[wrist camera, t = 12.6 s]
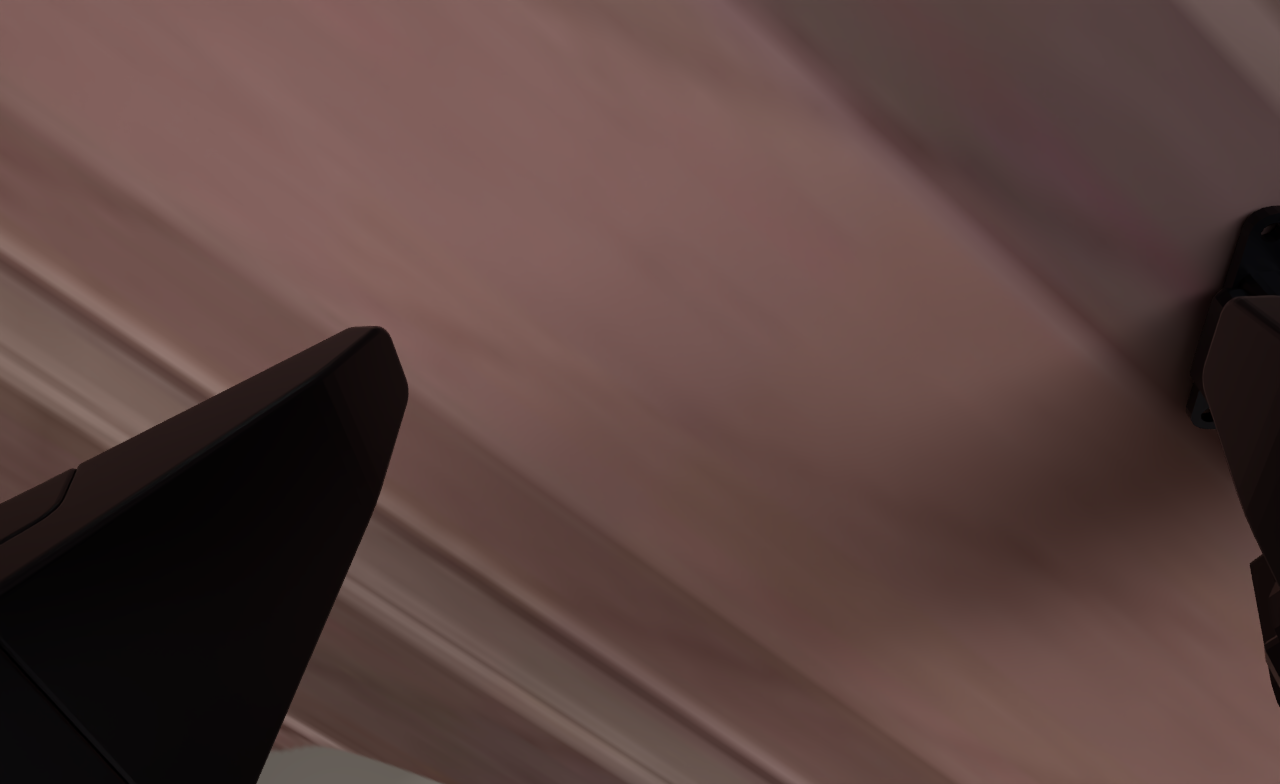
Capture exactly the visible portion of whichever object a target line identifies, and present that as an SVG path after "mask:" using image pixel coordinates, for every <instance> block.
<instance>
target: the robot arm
mask: <svg viewBox="0 0 1280 784" xmlns="http://www.w3.org/2000/svg"><path fill="white" fill-rule="evenodd" d="M1273 223H1278V226H1277V227H1276V229H1275V230H1274V231H1272V232H1271V233H1269V234H1265V235H1261V232H1262V231H1263V229H1264V228H1265V227H1267V226H1268V225H1270V224H1273ZM1190 376H1191V378H1192V379H1193V381H1194V383H1193V386H1192V390H1191V393H1190V396H1189V399H1188V402H1187V406H1186V412H1187V414H1188V416H1189V417H1190V419H1191V421H1192V422H1193V424H1194V425H1195V426H1197V427H1199V428H1203V429H1216V430H1217V433H1218V436H1219V439H1220V442H1221V445H1222V448H1223V451H1224V454H1225V458H1226V461H1227V464H1228V467H1229V470H1230V473H1231V476H1232V479H1233V482H1234V486H1235V489H1236V492H1237V495H1238V498H1239V500H1240V503H1241V506H1242V509H1243V511H1244V514H1245V516H1246V519H1247V521H1248V523H1249V525H1250V528H1251V530H1252V532H1253V534H1254V537H1255V539H1256V541H1257V543H1258V545H1259V547H1260V549H1261V551H1262V553H1263V554H1262V555H1261V556H1259V557H1258V558H1257V559H1255V560H1254V561H1252V562H1251V563H1250V569H1251V575H1252V580H1253V586H1254V591H1255V597H1256V602H1257V608H1258V613H1259V619H1260V624H1261V630H1262V635H1263V641H1264V649H1265V659H1266V663H1267V664H1268V668H1269V673H1270V679H1271V684H1272V687H1273V691H1274V694H1275V697H1276V700H1277V703H1278V705H1279V707H1280V206H1270V207H1265V208H1262V209H1260V210H1258V211H1256V212H1254V213H1253V214H1252V215H1251V216H1249V217H1248V218H1247V219H1246V221H1245V223H1244V225H1243V227H1242V230H1241V233H1240V236H1239V240H1238V243H1237V246H1236V249H1235V252H1234V256H1233V259H1232V262H1231V265H1230V268H1229V271H1228V275H1227V278H1226V281H1225V284H1224V287H1223V289H1221V290H1220V291H1219V292H1218V293H1217V294H1216V295H1215V296H1214V297H1213V298H1212V301H1211V305H1210V308H1209V311H1208V314H1207V318H1206V321H1205V324H1204V327H1203V331H1202V334H1201V337H1200V340H1199V344H1198V347H1197V350H1196V353H1195V357H1194V360H1193V363H1192V366H1191V370H1190ZM407 402H408V384H407V380H406V377H405V374H404V372H403V369H402V366H401V363H400V361H399V358H398V355H397V352H396V350H395V347H394V344H393V341H392V339H391V337H390V335H389V333H388V332H387V331H386V330H385V329H384V328H382V327H379V326H363V327H351V328H348V329H345V330H343V331H342V332H340V333H338V334H336V335H334V336H332V337H330V338H328V339H326V340H324V341H322V342H320V343H318V344H316V345H314V346H312V347H310V348H308V349H306V350H304V351H302V352H300V353H298V354H296V355H294V356H292V357H290V358H288V359H286V360H284V361H282V362H280V363H278V364H276V365H274V366H273V367H271V368H269V369H267V370H265V371H263V372H261V373H259V374H257V375H255V376H253V377H251V378H249V379H247V380H245V381H243V382H241V383H239V384H237V385H235V386H233V387H231V388H229V389H227V390H225V391H223V392H221V393H219V394H217V395H215V396H213V397H211V398H209V399H207V400H206V401H204V402H202V403H200V404H198V405H196V406H194V407H192V408H190V409H188V410H186V411H184V412H182V413H180V414H178V415H176V416H174V417H172V418H170V419H168V420H166V421H164V422H162V423H160V424H158V425H156V426H154V427H152V428H150V429H148V430H146V431H144V432H142V433H140V434H138V435H137V436H135V437H133V438H131V439H129V440H127V441H125V442H123V443H121V444H119V445H117V446H115V447H113V448H111V449H109V450H107V451H105V452H103V453H101V454H99V455H97V456H95V457H93V458H91V459H89V460H87V461H85V462H83V463H81V464H80V465H79V466H78V468H77V469H74V468H72V469H69V470H67V471H65V472H63V473H61V474H59V475H57V476H55V477H53V478H51V479H49V480H48V481H46V482H44V483H42V484H40V485H38V486H36V487H34V488H32V489H30V490H27V491H25V492H23V493H21V494H19V495H17V496H15V497H13V498H11V499H9V500H7V501H5V502H3V503H1V504H0V784H256V783H257V781H258V779H259V776H260V774H261V772H262V769H263V767H264V765H265V762H266V760H267V758H268V755H269V753H270V751H271V748H272V746H273V744H274V741H275V739H276V737H277V735H278V732H279V730H280V728H281V725H282V723H283V721H284V718H285V716H286V714H287V711H288V709H289V707H290V704H291V702H292V700H293V697H294V695H295V693H296V690H297V688H298V686H299V683H300V681H301V679H302V676H303V674H304V672H305V670H306V667H307V665H308V663H309V660H310V658H311V656H312V653H313V651H314V649H315V646H316V644H317V642H318V639H319V637H320V635H321V632H322V630H323V628H324V625H325V623H326V621H327V618H328V616H329V614H330V611H331V609H332V607H333V604H334V602H335V600H336V598H337V595H338V593H339V591H340V588H341V586H342V584H343V581H344V579H345V577H346V574H347V572H348V570H349V567H350V565H351V563H352V560H353V558H354V556H355V553H356V551H357V549H358V546H359V544H360V542H361V539H362V537H363V535H364V532H365V530H366V528H367V526H368V523H369V521H370V518H371V516H372V513H373V511H374V508H375V506H376V503H377V500H378V497H379V494H380V491H381V489H382V486H383V482H384V479H385V476H386V472H387V469H388V466H389V462H390V459H391V456H392V452H393V449H394V446H395V442H396V439H397V436H398V432H399V429H400V426H401V422H402V419H403V416H404V412H405V409H406V406H407ZM1209 408H1210V411H1211V412H1209V413H1203V412H1204V411H1205V410H1207V409H1209Z"/></svg>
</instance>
